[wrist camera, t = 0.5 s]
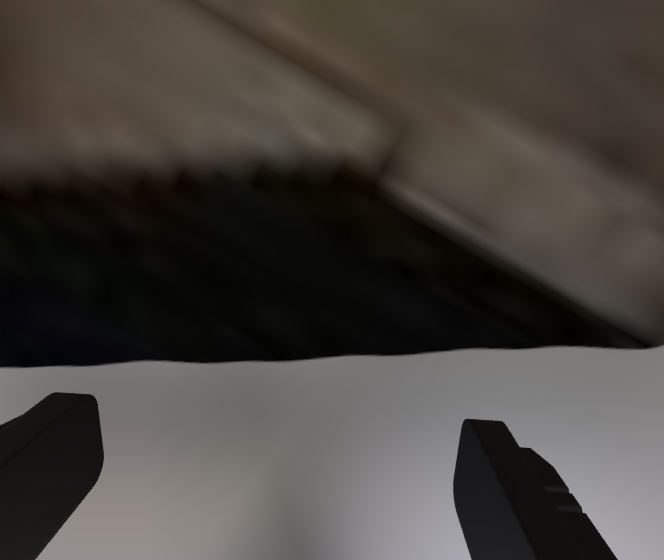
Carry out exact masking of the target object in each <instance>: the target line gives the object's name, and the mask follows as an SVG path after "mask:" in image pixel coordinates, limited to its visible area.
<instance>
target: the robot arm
mask: <svg viewBox="0 0 664 560" xmlns="http://www.w3.org/2000/svg"><path fill="white" fill-rule="evenodd" d="M103 461H104V451H103V443H102V436H101V428H100V419H99V411H98V404H97V401H96V399H95V397H94V396H92V395H90V394H74V393H58V392H56V393H52V394H50V395H49V396H47V397H45V398H44V399H43V400H41V401H40V402H39V403H38V404H36V405H35V406H34V407H32V408H31V409H30V410H28V411H27V412H26V413H24V414H23V415H21V416H19V417H17V418H14V419H12V420H10V421H8V422H6V423H4V424H2V425H0V560H35V559H36V558H37V557H38V556H39V554H40V553H41V552H42V551H43V549H44V548H45V547H46V545H47V544H48V543H49V542H50V541H51V539H52V538H53V537H54V536H55V534H56V533H57V532H58V530H59V529H60V528H61V527H62V526H63V524H64V523H65V522H66V521H67V519H68V518H69V517H70V516H71V514H72V513H73V512H74V511H75V509H76V508H77V507H78V505H79V504H80V503H81V502H82V500H83V499H84V498H85V497H86V495H87V494H88V493H89V492H90V490H91V489H92V488H93V487H94V485H95V484H96V482H97V480H98V478H99V476H100V473H101V470H102V467H103ZM453 482H454V483H453V493H454V502H455V508H456V512H457V515H458V518H459V521H460V525H461V528H462V530H463V534H464V537H465V540H466V543H467V547H468V550H469V553H470V556H471V559H472V560H618V559H617V558H616V557H615V555H614V554H613V552H612V551H611V549H610V548H609V547H608V545H607V544H606V542H605V541H604V539H603V538H602V536H601V535H600V533H599V532H598V531H597V529H596V528H595V526H594V525H593V523H592V522H591V521H590V519H589V518H588V516H587V515H586V514H585V513H583V512H582V507H581V506H580V505H579V503H578V502H577V500H576V499H575V497H574V496H573V494H571V493H569V489H568V487H567V486H566V484H565V483H564V481H563V480H562V479H561V477H560V476H559V474H558V473H557V471H556V470H555V468H554V467H553V466H552V465H551V464H549V463H548V462H547V461H546V460H544V459H543V458H542V457H541V456H540V455H538V454H537V453H536V452H535V451H533V450H532V449H531V448H521V447H519V445H518V444H517V442H516V441H515V439H514V437H513V436H512V434H511V432H510V431H509V429H508V428H507V426H506V425H505V423H504V422H502V421H493V420H477V419H465V420H464V422H463V424H462V428H461V434H460V441H459V447H458V454H457V460H456V468H455V473H454V481H453Z"/></svg>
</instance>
